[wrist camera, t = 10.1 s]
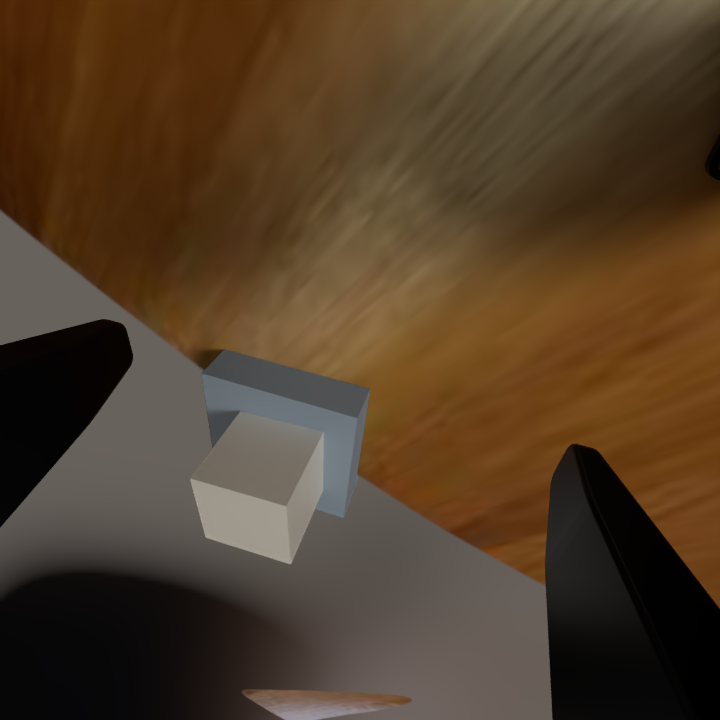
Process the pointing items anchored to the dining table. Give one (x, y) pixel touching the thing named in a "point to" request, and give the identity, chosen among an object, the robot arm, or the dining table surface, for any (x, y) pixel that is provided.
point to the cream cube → (260, 485)
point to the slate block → (293, 413)
